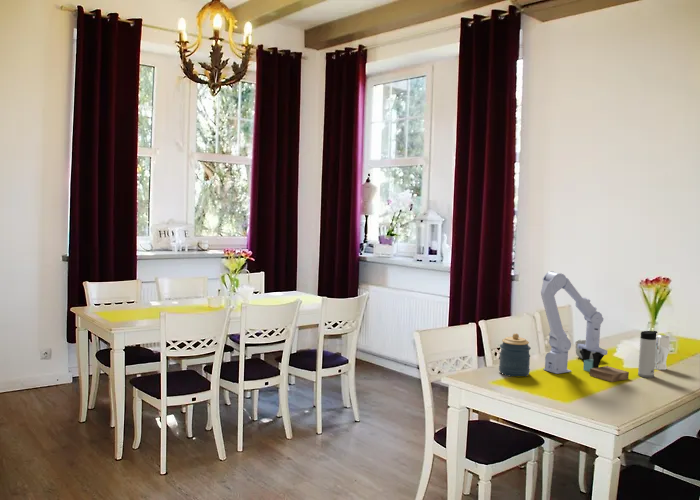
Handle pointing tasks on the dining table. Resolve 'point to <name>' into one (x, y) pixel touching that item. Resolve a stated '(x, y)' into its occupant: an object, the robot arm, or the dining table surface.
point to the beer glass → (661, 352)
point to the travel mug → (647, 354)
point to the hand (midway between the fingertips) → (591, 367)
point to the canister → (514, 356)
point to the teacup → (581, 349)
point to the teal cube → (588, 364)
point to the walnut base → (609, 373)
